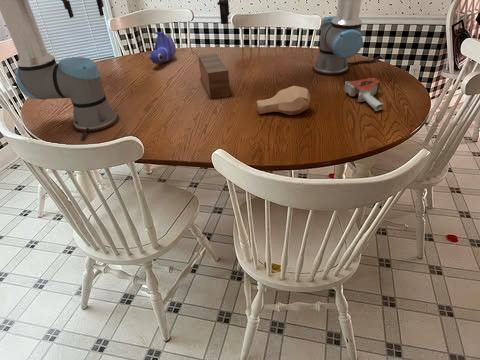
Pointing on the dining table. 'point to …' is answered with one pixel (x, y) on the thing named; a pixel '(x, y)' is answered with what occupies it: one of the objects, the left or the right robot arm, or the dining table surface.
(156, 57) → the toy
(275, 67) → the dining table surface
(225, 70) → the box
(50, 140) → the dining table surface
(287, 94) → the squash
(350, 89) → the tape dispenser
